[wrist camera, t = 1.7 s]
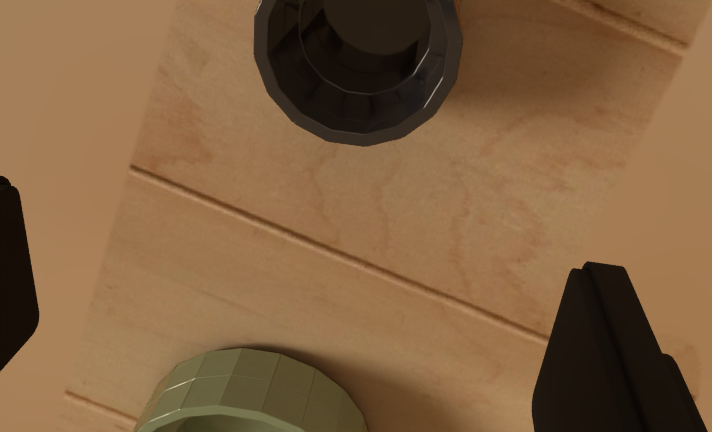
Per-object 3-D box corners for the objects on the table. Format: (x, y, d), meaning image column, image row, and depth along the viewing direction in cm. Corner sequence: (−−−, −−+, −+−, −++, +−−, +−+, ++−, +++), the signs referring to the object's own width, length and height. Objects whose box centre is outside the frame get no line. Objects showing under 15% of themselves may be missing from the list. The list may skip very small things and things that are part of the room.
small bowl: (286, 83, 29) (251, 131, 24) (294, -90, 26) (256, -77, 21) (443, 104, 29) (442, 157, 24) (472, -69, 26) (479, -51, 20)
